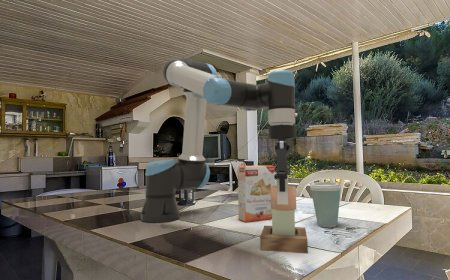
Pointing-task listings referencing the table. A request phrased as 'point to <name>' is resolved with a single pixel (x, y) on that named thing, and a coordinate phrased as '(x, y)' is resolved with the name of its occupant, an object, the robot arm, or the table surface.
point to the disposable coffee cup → (326, 202)
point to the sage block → (283, 222)
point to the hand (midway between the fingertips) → (283, 200)
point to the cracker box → (255, 192)
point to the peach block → (291, 199)
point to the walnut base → (284, 241)
